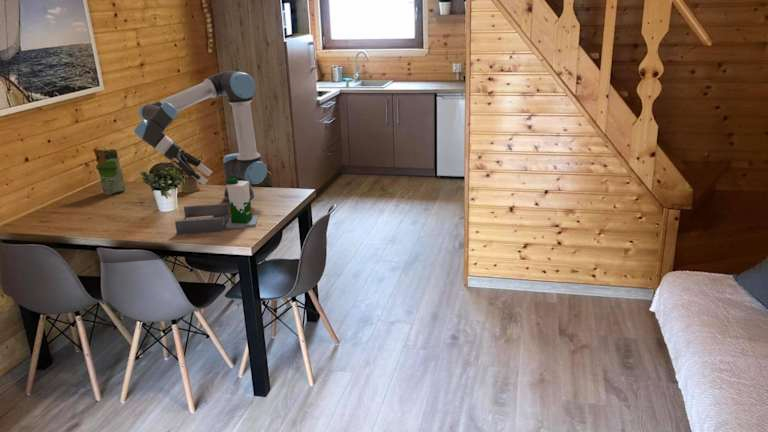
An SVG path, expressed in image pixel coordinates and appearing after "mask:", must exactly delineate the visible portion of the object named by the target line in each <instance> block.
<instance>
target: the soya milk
mask: <svg viewBox="0 0 768 432" xmlns="http://www.w3.org/2000/svg"><path fill="white" fill-rule="evenodd" d="M228 182H229V183H228V184H227V185H226V184H225V188H226V187H227V191H228V196H229V201H228V203H229V204H228V205H229V211H230V217H231V221H232V223H244V224H246V223H247V222H249V221H250V220H251V219H252V215H253V213H252V212H253V211H252V202H251V199H250V192H249V181H238V180H237V178H235V177H234V178H229V179H228Z"/></svg>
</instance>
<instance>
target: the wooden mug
mask: <svg viewBox="0 0 768 432" xmlns="http://www.w3.org/2000/svg"><path fill="white" fill-rule="evenodd" d="M173 160H174V158H172V159H171V160H170V164H171V165H172V166H173V167H174V168H175V169H176V170H179V171H180V172H181V176H182V175H183V176H184V178H185V183H183V184H182V183H181V185H182V187H181V192H183V194H184V193H185V194H190V193H196V192H199V191H200V186H199V183H198V180H196V179H195V178H194V177H192V176H191V177H189V176H188V175H187V174H186V173H185V172H184V171H183V170H182V169H181V168H180V167H179V166H178V165H177V164H176V163H175V162H174V161H173Z"/></svg>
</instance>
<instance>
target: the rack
mask: <svg viewBox="0 0 768 432" xmlns="http://www.w3.org/2000/svg"><path fill="white" fill-rule="evenodd" d="M228 203H229V202H226V203H214V204H213V203H212V204H211V203H210V204H201V205H200V204H199V205H184V206H183V211H184V212H183V213H184V218H183V219H180V220H175V221H174V224H175V230H176V235H178V236H179V235H191V234H204V233H218V232H224V231H225V228H226V226H227V223H228V220H229V217H230V213H229V211H230V209H229V204H228ZM212 215H213V217H214V218H207V219H193V220H185V219H186V218H190V217H201V216H212Z"/></svg>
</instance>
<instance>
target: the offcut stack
mask: <svg viewBox="0 0 768 432" xmlns="http://www.w3.org/2000/svg"><path fill="white" fill-rule="evenodd" d="M207 218H215V217H213V215H212V216H201V217H190V218H186V219H185V220H193V219H207Z"/></svg>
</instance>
